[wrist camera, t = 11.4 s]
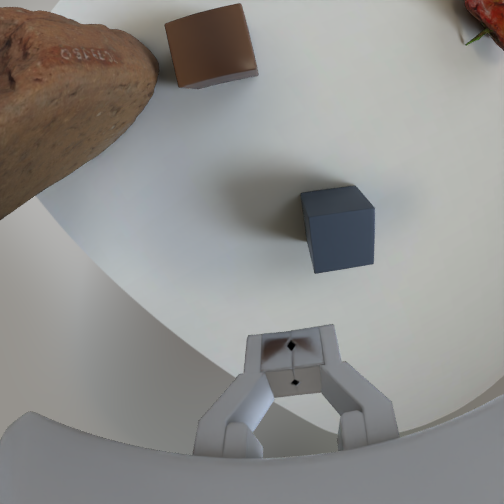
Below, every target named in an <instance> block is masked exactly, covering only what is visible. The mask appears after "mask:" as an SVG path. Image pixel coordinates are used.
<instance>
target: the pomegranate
mask: <svg viewBox="0 0 504 504" xmlns="http://www.w3.org/2000/svg"><path fill="white" fill-rule="evenodd" d="M465 7H466V9H467V10H468V11H469V12H470V13H471V14H472V15H473V16H474V17H475V18H476V19H478V20H479V21H481V23H482V25H483V27H484V28H485V30H483V31H482V32H480V33H479V34H478V35H477V36H476V37H475V38H474V39H472V40H471V41H470V42H468V43H467V44H466V46H467V45H468V44H470V43H472V42H474V41H476V40H479V39H480V38H481V37H482V36H483V35H485V34H487V33H489V35H490V36H491V38H492V39H493V40H494V42H495V43H496V44H497V45H498V46H499V47H501V48H502V49H503V50H504V0H465Z"/></svg>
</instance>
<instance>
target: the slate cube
mask: <svg viewBox="0 0 504 504" xmlns="http://www.w3.org/2000/svg"><path fill="white" fill-rule="evenodd" d="M301 200H302V207H303V214H304V221H305V229H306V237H307V243H308V248H309V252H310V256H311V260H312V264H313V269H314V273H315V274H316V273H322V272H328V271H335V270H341V269H347V268H353V267H359V266H365V265H370V264H374V238H375V208H374V207H373V205H372V204H371V203H370V202H369V201H368V199H367V198H366V197H365V196H364V195H363V194H362V193H361V191H360V190H359V189H358V188H357V187H356V186H348V187H340V188H333V189H326V190H319V191H312V192H305V193H301Z"/></svg>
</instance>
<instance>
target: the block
mask: <svg viewBox="0 0 504 504" xmlns="http://www.w3.org/2000/svg"><path fill="white" fill-rule="evenodd" d="M158 75H159V64H158V61H157V59H156V58H155V56H154V55H153V54H152V53H151V51H150V50H149V49H148V48H147V47H146V46H145V45H143V44H142V43H141V42H140V41H139V40H137V39H136V38H135V37H133V36H132V35H131V34H128V33H126V32H124V31H121V30H118V29H109V28H107V27H106V26H105V25H102V24H80V23H78V22H76V21H74V20H72V19H67V18H65V17H63V16H61V15H57V14H54V13H51V12H47V11H34V12H33V11H29V10H26V9H23V8H18V7H3V8H0V220H1V219H3V218H4V217H5V216H7V215H8V214H10V213H11V212H13V211H14V210H15V209H17V208H18V207H20V206H21V205H23V204H24V203H25V202H27V201H28V200H30V199H31V198H33V197H34V196H36V195H37V194H39V193H40V192H42V191H43V190H45V189H46V188H48V187H49V186H51V185H53V184H54V183H56V182H58V181H60V180H61V179H63V178H64V177H66V176H67V175H69V174H71V173H72V172H74V171H75V170H76V169H78V168H79V167H81V166H82V165H84V164H85V163H87V162H88V161H90V160H91V159H93V158H95V157H96V156H98V155H99V154H100V153H101V152H103V151H104V150H105V149H106V148H107V147H109V146H110V145H111V144H112V143H113V142H115V141H116V140H117V139H118V138H119V136H121V135H122V134H123V133H124V132H125V131H126V130H127V129H128V128H129V126H131V125H132V124H133V122H134V121H135V119H136V117H137V116H138V115H139V114H140V113H141V112H142V110H143V109H144V107H145V106H146V105H147V103H148V102H149V100H150V98H151V97H152V95H153V93H154V88H155V84H156V82H157V77H158Z"/></svg>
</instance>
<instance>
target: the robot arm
mask: <svg viewBox="0 0 504 504" xmlns="http://www.w3.org/2000/svg"><path fill="white" fill-rule="evenodd" d="M320 392H322V394H323V396H324V397H325V398H326V399H327V400H328V401H329V403H330V404H331V405H332V406H333V407H334V409H335V410H336V411H337V412H338V413H339V414H340V416H341V417H340V424H339V431H338V438H337V443H338V451H337V452H331V453H324V454H315V455H306V456H296V457H281V458H263V446H262V445H261V444H260V442H259V441H258V440H257V438H256V437H255V435H254V434H253V431H254V430H255V428H256V427H257V425H258V424H259V422H260V421H261V419H262V418H263V416H264V415H265V413H266V412H267V410H268V409H269V407H270V405H271V404H272V402H273V401H274V398H276V397H285V396H293V395H302V394H312V393H320ZM0 504H504V394H502V395H500V396H499V397H497V398H495V399H493V400H491V401H490V402H487V403H486V404H484V405H482V406H480V407H478V408H476V409H473V410H471V411H469V412H467V413H465V414H463V415H460V416H458V417H456V418H454V419H451V420H449V421H446V422H444V423H441V424H439V425H436V426H433V427H430V428H428V429H425V430H422V431H419V432H416V433H413V434H410V435H407V436H403V437H399V432H398V427H397V422H396V418H395V414H394V409H393V405H392V401H391V400H389V399H388V398H387V397H386V396H385V395H384V394H382V393H381V392H380V391H379V390H378V389H377V388H376V387H375V386H373V385H372V384H371V383H370V382H369V381H368V380H367V379H365V378H364V377H363V376H362V375H361V374H360V373H359V372H358V371H356V370H355V369H354V368H353V367H352V366H351V365H350V364H349V363H347V362H346V361H344V362H342V361H341V356H340V351H339V346H338V341H337V336H336V331H335V326H334V325H333V324H330V325H324V326H317V327H311V328H304V329H298V330H291V331H286V332H276V333H265V334H256V335H248V337H247V342H246V353H245V364H244V374H239V375H238V376H237V377H236V379H235V380H234V381H233V382H232V384H230V386H229V387H228V388H227V389H226V390H225V391H224V393H223V394H222V395H221V396H220V397H219V398H218V400H217V401H216V402H215V403H214V404H213V405H212V406H211V408H210V409H209V410H208V411H207V412H206V413H205V414H204V415H203V416H202V417H201V419H200V420H199V422H198V428H197V432H196V438H195V444H194V450H193V455H187V454H179V453H172V452H166V451H160V450H154V449H149V448H143V447H139V446H134V445H130V444H125V443H121V442H118V441H114V440H110V439H106V438H103V437H100V436H96V435H92V434H90V433H87V432H84V431H81V430H78V429H75V428H72V427H69V426H66V425H64V424H61V423H59V422H56V421H54V420H52V419H49V418H47V417H45V416H42V415H40V414H38V413H35V412H31V411H30V412H27V413H25V414H24V415H22V416H21V417H20V418H18V419H17V420H16V421H14V422H13V423H12V424H11V425H10V426H9V427H8V428H7V429H6V431H5V432H4V434H3V436H2V438H1V440H0Z"/></svg>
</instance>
